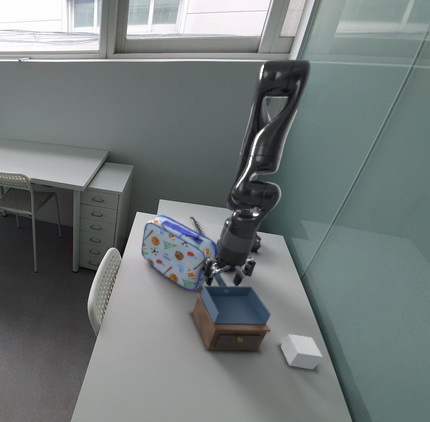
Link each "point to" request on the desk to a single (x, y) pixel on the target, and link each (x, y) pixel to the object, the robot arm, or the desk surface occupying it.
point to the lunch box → (177, 251)
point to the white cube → (301, 351)
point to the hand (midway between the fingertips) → (221, 284)
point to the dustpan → (234, 304)
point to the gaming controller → (256, 244)
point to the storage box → (227, 331)
